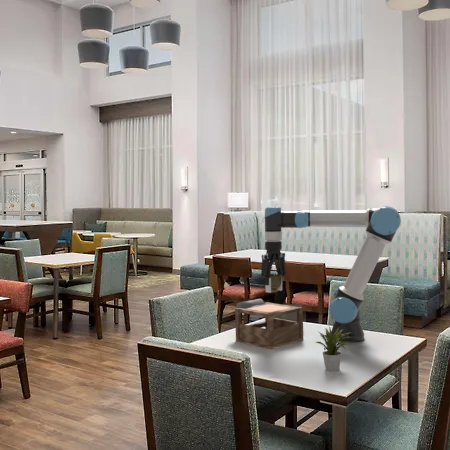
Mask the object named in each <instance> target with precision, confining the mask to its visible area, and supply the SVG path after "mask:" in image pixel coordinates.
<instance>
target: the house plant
mask: <svg viewBox="0 0 450 450" xmlns="http://www.w3.org/2000/svg"><path fill="white" fill-rule="evenodd" d="M338 330H339V327H338V329H337V330H336V332H335V333H334V336H333V338H332V332H331V331H332V328H331V327H330V325H329V327H328V328H327V327H325V334H324V333H321V332H320V331H318V333H319V336H320V337H321V338H322V339H323V341H324V343H325V344H324V343H323V342H321V341H316V342H315V344H316V343H317V344H318V345H319V344H320V345H321V346H323V347H324V348H323V351H322V357H323V363H324V368H325V370H326V371H328V372H338V371H340V368H341V361H342V360H341V359H342V355H343V354H342V352H341V351H340V348H344V349H346V347H345V346H348V344H347V342H342V341H340V340H342V339H344V338H349V337H344V336H346V335H345V334H341V331H342V330H343V329H342V330H340V331H339V332H338ZM350 333H352V332H350ZM340 334H341V335H342V336H343V337H342V336H341V337H342V338H341V337H340V338H339V336H340ZM346 334H348V333H346ZM338 350H339V351H338Z"/></svg>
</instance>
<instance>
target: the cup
mask: <svg viewBox="0 0 450 450" xmlns="http://www.w3.org/2000/svg"><path fill="white" fill-rule="evenodd" d="M269 278H271V293H277V292H278V291H279V290H278V288H279V287H280V286H281V281H282V275H281V274H278V273H270V277H269Z"/></svg>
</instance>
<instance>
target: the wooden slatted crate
mask: <svg viewBox="0 0 450 450" xmlns="http://www.w3.org/2000/svg"><path fill="white" fill-rule="evenodd" d="M264 304H271V305H277V306H284V307H290V309H285V310H281V311H276V312H272V313H268V312H262V311H256V310H250V309H244V308H236V307H235V309H234V316H235V317H234V318H235V319H234V320H235V325H234V327H235V341H236V342H239V343H243V344H247V345H252V346H256V347H260V348H264V349H269V350H273V349H276V348H277V349H278V348H279V347H283V346H286V345H291V344H295V343H297V342H301V341H304V310H303V309H304V308H303V306H302V307H294V306H287V305H288V304H280V303H274V302H269V301H268V302H264ZM241 312H242V313H241ZM293 312H297V322H294V321H289V320H283V319H278V318H273V317H275V316H280V315H284V314H289V313H293ZM242 314H247V315H254V316H259V317H264V321H259V322H256V323H250V324H244V323H242Z"/></svg>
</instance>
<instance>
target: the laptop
mask: <svg viewBox="0 0 450 450" xmlns="http://www.w3.org/2000/svg"><path fill="white" fill-rule="evenodd" d="M286 305H287V306H294V307H302V308H303V304H302V303H300V304H299V303H298V304H293V303H292V304H286ZM273 318H278V319H283V320H289V321H294V322H297V312H293V313H289V314H284V315H280V316H275V317H273Z"/></svg>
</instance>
